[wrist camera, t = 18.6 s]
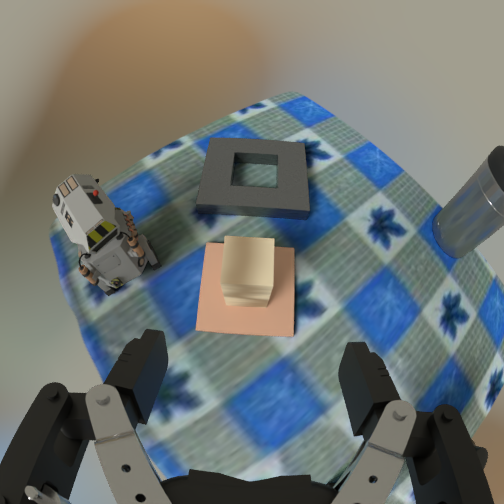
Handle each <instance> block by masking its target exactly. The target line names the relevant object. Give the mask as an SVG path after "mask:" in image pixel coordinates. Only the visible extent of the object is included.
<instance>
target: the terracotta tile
mask: <svg viewBox="0 0 504 504" xmlns="http://www.w3.org/2000/svg"><path fill="white" fill-rule="evenodd" d="M223 249H224V243H206V250H205V257H204V265H203V272H202V280H201V288H200V297H199V305H198V314H197V324H196V331H205V332H216V333H228V334H242V335H258V336H281V337H293V334H294V248H288V247H274V280H273V289H272V292H271V295H270V298H269V301H268V304H267V307H266V308H261V307H243V306H227V305H226V303H225V299H224V295H223V292H222V288H221V284H220V279H221V269H222V259H223Z"/></svg>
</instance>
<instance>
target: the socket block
mask: <svg viewBox="0 0 504 504" xmlns="http://www.w3.org/2000/svg"><path fill="white" fill-rule="evenodd" d="M235 163H253V164H269V165H277V188H264V187H248V186H232V181H233V174H234V166H235ZM196 206H197V210H198V213H201V214H222V215H241V216H258V217H273V218H287V219H300V220H307V217H308V214H309V212H310V206H309V191H308V178H307V166H306V155H305V145H304V143H297V142H287V141H275V140H261V139H242V138H210V141H209V145H208V150H207V154H206V158H205V163H204V167H203V172H202V176H201V181H200V186H199V191H198V196H197V201H196Z"/></svg>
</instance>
